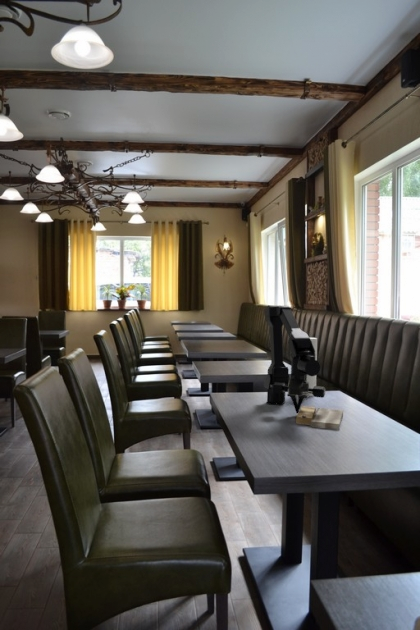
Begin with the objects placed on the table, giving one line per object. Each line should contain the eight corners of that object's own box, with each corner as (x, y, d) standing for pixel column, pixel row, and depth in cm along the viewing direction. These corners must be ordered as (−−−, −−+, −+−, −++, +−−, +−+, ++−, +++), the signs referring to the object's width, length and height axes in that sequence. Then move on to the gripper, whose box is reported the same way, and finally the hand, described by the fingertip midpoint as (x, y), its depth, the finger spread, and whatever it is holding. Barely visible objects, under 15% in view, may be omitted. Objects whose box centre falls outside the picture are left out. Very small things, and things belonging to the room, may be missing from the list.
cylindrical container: (314, 393, 212) (316, 337, 211) (316, 396, 204) (318, 339, 203) (298, 392, 212) (300, 337, 211) (300, 395, 205) (301, 338, 204)
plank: (301, 412, 175) (302, 404, 175) (315, 413, 174) (315, 406, 174) (296, 424, 160) (296, 415, 159) (311, 425, 158) (311, 417, 158)
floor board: (311, 426, 157) (311, 421, 157) (317, 412, 176) (318, 407, 175) (339, 429, 154) (339, 423, 154) (342, 415, 173) (343, 410, 173)
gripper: (269, 372, 166) (267, 415, 167) (323, 377, 160) (321, 422, 161) (275, 367, 176) (273, 408, 177) (326, 371, 170) (324, 413, 171)
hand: (297, 413), depth 171 cm, fingers closed
